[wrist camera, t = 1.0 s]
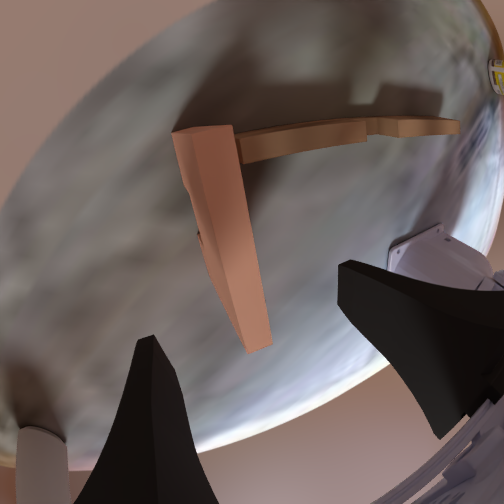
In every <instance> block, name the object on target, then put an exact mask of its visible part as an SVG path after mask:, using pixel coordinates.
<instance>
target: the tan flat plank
mask: <svg viewBox="0 0 504 504" xmlns="http://www.w3.org/2000/svg"><path fill="white" fill-rule="evenodd" d="M171 134H172V138H173V143H174V147H175V151H176V155H177V160H178V164H179V168H180V172H181V176H182V180H183V184H184V186H185V188H186V189H187V191H188V192H189V194H190V198H191V202H192V206H193V209H194V213H195V217H196V221H197V224H198V228H199V232H200V233H199V234H197V236H198V239H199V243H200V246H201V249H202V253H203V256H204V260H205V263H206V266H207V270H208V273H209V276H210V278H211V281H212V283H213V285H214V287H215V289H216V291H217V293H218V295H219V298H220V300H221V302H222V304H223V306H224V308H225V310H226V312H227V314H228V316H229V318H230V320H231V322H232V324H233V326H234V328H235V330H236V332H237V334H238V336H239V338H240V340H241V342H242V344H243V346H244V348H245V350H246V352H247V354H250V353H252V352H255V351H257V350H260V349H262V348H265V347H267V346H270V345H272V344H273V342H272V337H271V331H270V326H269V320H268V315H267V309H266V304H265V298H264V293H263V288H262V282H261V277H260V271H259V266H258V260H257V255H256V250H255V244H254V239H253V234H252V228H251V223H250V217H249V212H248V207H247V201H246V196H245V191H244V185H243V180H242V175H241V169H240V164H239V159H238V154H237V148H236V143H235V138H234V133H233V127H232V125H217V126H200V127H191V128H187V129H183V130H180V131H176V132H172V133H171Z"/></svg>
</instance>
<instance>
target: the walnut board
mask: <svg viewBox="0 0 504 504" xmlns="http://www.w3.org/2000/svg"><path fill="white" fill-rule="evenodd" d="M374 134H380V135H386V136H392V137H397V138H402V137H413V136H427V135H445V134H460V121H458V120H453V119H447V118H441V117H435V116H370V117H352V118H339V119H328V120H319V121H310V122H302V123H295V124H288V125H281V126H275V127H269V128H263V129H257V130H252V131H247V132H242V133H237V134H234V138H235V143H236V148H237V154H238V159H239V163H242V164H248V163H252V162H256V161H260V160H265V159H269V158H274V157H279V156H283V155H288V154H293V153H298V152H303V151H309V150H314V149H320V148H326V147H332V146H338V145H345V144H351V143H358V142H366V141H367V135H374Z"/></svg>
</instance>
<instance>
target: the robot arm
mask: <svg viewBox="0 0 504 504" xmlns="http://www.w3.org/2000/svg"><path fill="white" fill-rule="evenodd" d="M337 305H338V306H339V307H340V309H341V310H342V311H343V313H344V314H345V316H346V317H347V318H348V319H349V321H350V322H351V323H352V324H353V325H354V326H355V327H356V328H357V329H358V330H359V331H360V332H361V334H362V335H363V336H364V337H365V338H366V339H367V340H368V341H369V342H370V343H371V344H372V345H373V346H374V347H375V348H376V349H377V350H378V351H379V352H380V353H381V354H382V355H383V356H384V357H385V358H386V359H387V360H388V361H389V362H390V363H391V365H392V366H393V367H394V369H395V370H396V371H397V373H398V374H399V375H400V377H401V378H402V379H403V381H404V382H405V384H406V385H407V386H408V388H409V389H410V391H411V392H412V394H413V395H414V397H415V399H416V400H417V402H418V404H419V405H420V407H421V409H422V410H423V412H424V414H425V416H426V418H427V420H428V422H429V424H430V426H431V428H432V430H433V433H434V434H435V435H436V436H437V438H438V439H440V440H441V438H443V437H444V436H445V435H446V434H447V433H448V432H449V431H450V430H451V429H452V428H453V427H454V426H455V425H456V424H457V423H458V422H459V421H460V420H461V419H462V418H463V417H464V416H465V415H466V414H467V415H468V416H469V417H470V419H469V420H468V421H467V422H466V424H465V425H464V426H463V427H462V428H461V429H460V430H459V431H458V432H457V433H456V434H455V435H454V436H453V438H451V439H450V440H449V441H448V442H447V443H446V444H445V446H443V447H442V448H441V449H440V450H439V451H438V452H437V453H436V454H435V455H434V456H433V457H432V458H431V459H429V460H428V461H427V462H426V463H425V464H424V465H423V466H421V467H420V468H419V469H418V470H417V471H416V472H414V473H413V474H412V475H410V476H409V477H408V478H406V479H405V480H404V481H403V482H401V483H400V484H399V485H397V486H396V487H394V488H393V489H392V490H390V491H389V492H388V493H386V494H385V495H383V496H382V497H380V498H379V499H377V500H375V501H374V502H372V503H371V504H403V503H404V502H405V501H406V500H408V499H409V498H410V497H412V496H413V495H414V494H416V493H417V492H418V491H419V490H421V489H422V488H423V487H424V486H425V485H427V484H428V483H429V482H430V481H431V480H432V479H433V478H434V477H436V476H437V475H438V474H439V473H440V472H441V471H442V470H443V469H444V468H445V467H446V466H447V465H448V464H449V463H450V462H451V461H452V460H453V459H454V458H455V457H456V456H457V455H458V454H459V453H460V452H461V451H462V450H463V449H464V448H465V447H466V446H467V444H468V443H469V442H470V441H472V444H471V445H470V446H469V447H468V448H466V449H465V450H464V451H463V452H462V453H461V454H459V455H458V456H457V457H456V458H455V459H454V460H453V461H452V462H451V463H450V464H449V465H448V467H447V468H446V469H445V471H444V472H443V473H442V475H443V476H444V478H443V479H442V480H441V481H440V482H438V483H437V484H436V485H435V486H434V487H432V488H431V489H430V490H429V491H427V492H426V493H425V494H423V495H422V496H421V497H419V498H418V499H417V500H415V501H414V502H413V503H411V504H504V270H500V271H499V272H495V273H494V276H493V271H492V267H491V265H490V263H489V261H488V260H487V258H486V257H485V256H484V255H483V254H482V253H480V252H479V251H477V250H475V249H473V248H472V247H470V246H468V245H466V244H465V243H463V242H461V241H459V240H457V239H455V238H454V237H452V236H450V235H448V234H446V233H444V224H442V223H440V224H438V225H436V226H435V227H433V228H431V229H429V230H427V231H425V232H423V233H421V234H419V235H417V236H415V237H413V238H411V239H409V240H407V241H405V242H403V243H400V244H398V245H396V246H394V247H392V248H391V249H390V251H389V259H388V267H387V270H384V269H381V268H378V267H375V266H372V265H369V264H365V263H362V262H359V261H355V260H348V261H346V262H343V263H341V264H339V265H338V301H337ZM74 504H219V503H218V501H217V499H216V497H215V495H214V493H213V491H212V488H211V486H210V485H209V482H208V480H207V477H206V475H205V473H204V471H203V468H202V466H201V463H200V461H199V458H198V456H197V452H196V449H195V446H194V442H193V438H192V434H191V430H190V426H189V421H188V417H187V412H186V408H185V403H184V399H183V394H182V391H181V388H180V385H179V381H178V378H177V375H176V372H175V369H174V368H173V366H172V365H171V363H170V361H169V360H168V358H167V356H166V355H165V353H164V351H163V350H162V348H161V346H160V344H159V343H158V341H157V339H156V337H155V336H154V335H151V336H148V337H145V338H142V339H138V341H137V343H136V347H135V351H134V355H133V359H132V362H131V366H130V370H129V374H128V377H127V381H126V384H125V388H124V391H123V395H122V398H121V401H120V404H119V407H118V410H117V414H116V417H115V420H114V422H113V425H112V428H111V431H110V433H109V436H108V438H107V441H106V443H105V445H104V448H103V450H102V452H101V454H100V457H99V459H98V461H97V463H96V465H95V467H94V469H93V471H92V473H91V475H90V477H89V478H88V480H87V482H86V484H85V486H84V488H83V489H82V491H81V493H80V494H79V496H78V498H77V499H76V501H75V502H74Z"/></svg>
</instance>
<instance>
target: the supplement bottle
mask: <svg viewBox="0 0 504 504" xmlns="http://www.w3.org/2000/svg"><path fill="white" fill-rule="evenodd" d="M488 71H489V77H490V82H491V85H492V87H493V89H494V91H495V92H496V93H497V94H501V95H504V61H502V60H495V59H492V60H490V61H489V64H488Z"/></svg>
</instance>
